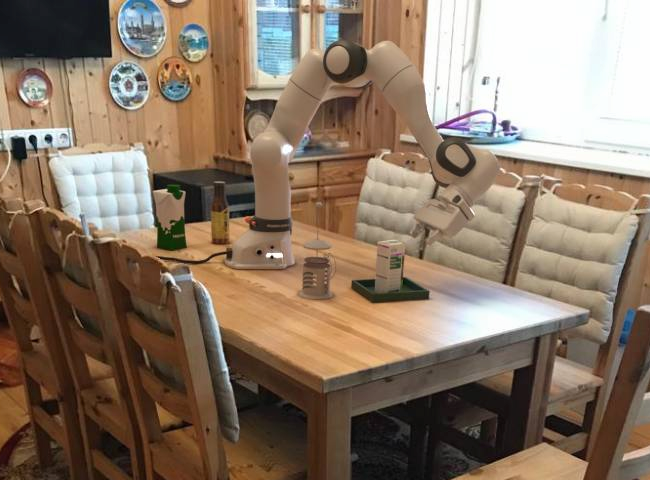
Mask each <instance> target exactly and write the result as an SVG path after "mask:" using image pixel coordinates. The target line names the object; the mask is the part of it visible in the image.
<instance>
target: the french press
mask: <svg viewBox="0 0 650 480" xmlns="http://www.w3.org/2000/svg"><path fill="white" fill-rule="evenodd" d="M314 207H316V208H317V224H319V222H320V221H319V219H320V208H322V207H323V203H322V202H320V201H317V202H316V203H315V205H314ZM316 231H317V234H316V235H317V236H316V238H312V239H308V240H307V241H305V242H304V243H302V247H303V248H305V249H307V250H312V251H313V250H314V251H316V254H318V252H319V251H326V250H330V249H331V248H332V247H333V245H332V244H331V243H330V242H329V241H326V240H324V239H322V238H319V228H317V229H316ZM326 256H327V257H326ZM330 256H331V257H332V259H333V261H334V265H335V266H334V272H333V275H332V276H331V274H332V269H333V268H332V267H333V263H332V260H331V258H330ZM303 261H304V262H305V263H303V264H302V276H301V277H302V280H301V283H302V284H301V290H300V291H299V292H298V295H299V297H302V298H305V299H308V300H309V299H310V300H325V299H330V298H332V297H333V296H334V294H333V292H331V291H330V289H331V280H332V279H333V278H334V276H335V274H336V272H337V262H336V259H335V257H334V255H333V254H332V253H331V252H328V254H327V253H324V255H323V257H321V256H307V257H305V258H304V259H303ZM325 282H326V283H325Z"/></svg>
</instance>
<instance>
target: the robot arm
mask: <svg viewBox="0 0 650 480" xmlns="http://www.w3.org/2000/svg"><path fill="white" fill-rule="evenodd" d="M372 83H374V85H375V86H376V87H377V89H378V90H379V92H380V93H381V94H382V96H383V98H384V99H385V101H387V103H388V105H390V107H391V108H392V109H393V110H394V112H395V113H396V114H397V116H398V117H399V118H400V119H401V121H402V122H403V123H404V124H405V126H406V127H407V128H408V130H409V131H410V133H411V134H412V135H413V137H414V139H415V141H416V142H417V144H418V146H419V147H420V148H421V150H422V152H423V153H424V155H425V156H426V159H427V160H428V163H429V165H430V166H429V167H430V171H431V176H432V179H433V181H434V182H435V183H436V185H438V186H440V187H441V188H444V189H443V191H442V192H441V193H440V194H439V195H438V196H437V197H436V198H431V199H429V200H427V201H426V202H425V203H424V204H423V205H421V206H420V208H418V209H417V211H415V213H414V215H413V219H414V220H415V224H414V226H413V228H412V229H411V231H409V236H410V237H411V238H413V239H417V237H418V236H419V235H420V231H421V230H423V229H424V228H426V229H428V230H431V231H432V232H434V233H433V234H431V235H430V236H429V235H428V236H427V237H426V238H425V240H424V242H425V244H426V245H427V246H428V247H429V246H430V247H431V246H432V245H433V244H434V243H435V242H437V241H439V240H440V239H442V238H443V237H446V238H448V239H452V238H454V237H456V236H457V235H458V234H459V233H460V232H461V231H462V230H463V229H464V228H465V227H466V226H467V224H468V222H471V221H472V220H473V219H474V218H475V217H476V215H475V213H474V211H473V210H472V208H473V207H474V206H475V203H476V202H477V200H478V199H479V198H481V197H482V196H484V195H485V194H486V193H487V192H488V191H489V189H490V188H491V187H492V186H493V185H494V183H495V182H496V181H497V179H498V178H499V176H500V173H501V165H500V162H499V160H498V158H497V156H496V154H494V153H493V152H492V151H491V150H489V149H484V148H483V149H482V148H477V147H474V146H472V145H470V144H469V143H466V142H465V141H464V140H462V139H461V138H457V137H448V138H445V139H443V137H442V135H441V134H440V132H439V131H438V129H437V127H436V126H435V125H434V122H433V120H432V118H431V115H430V111H429V104H428V103H429V102H428V92H427V91H428V90H427V87H426V85H425V83H424V80H423V79H422V76H421V74H420V73H419V71H418V70H417V68H416V66H415V65H414V64H413V63H412V61H411V59H409V57H408V56H407V54H406V53H405V52H404V51H403V49H401V48H400V47H399V46H398V45H396V43H395V42H393V41H391V40H383V41H380V42H378V43H376V44H375V45H373V47H371V48H370V49H368V48H366V47H364V46H363V45H361V44H360V43H358V42H353V41H350V40H347V39H341V40H335V41H333V42H332V43H331V44H329V45H328V47H327V48H326V49H325V50H324V49H321V48H311V49H309V50H308V51H307V52H306V53H305V54H304V55H303V56H302V58H301V60H300V61H299V62H298V64H297V65H296V67H295V68H294V70H293V72H292V73H291V75H290V76H289V79H288V80H287V83H286V85H285V87H284V89H283V90H282V92H281V93H280V96H279V98H278V100H277V102H276V104H275V108H274V110H273V113H272V115H271V118H270V120H269V122H268V125H267V127H266V129H265V130H264V131H263V132H262V133H259V134H258V135H256V137H255V138H254V139H253V140H252V143H251V145H250V148H249V149H250V150H249V157H250V160H251V168H252V177H253V183H254V184H253V185H254V212H255V213H254V216H251V217H250V216H249V215H246V216H245V217H244V221H245V223H246V224H247V225H248V227H249V228H248V229H247V230H246V231H245V232H243V233H242V234H241V235H240V236H238V237H237V238H236V239H234V240H233V242H232V245H231V247H225V249H226V250H225V251H219V252H215V253H212V254H211V255H209V256H207V258H205V259H200V260H192V259H181V258H178V257H171V256H160V255H155V256H156V257H158V258H160V259H159V260H160V261H161V260H162V261H173V262H177V263H182V264H190V265H191V264H192V265H193V264H195V265H199V264H200V265H201V264H205V263H207V262H209V261H210V260H212V259H213V258H216V257H218V256H224V255H226V256H225V257H224V258H223V263H224V264H225V265H226V266H228V267H229V268H232V269H234V270H235V269H236V270H284V269H286V268H288V267H291V266H293V265H294V264H296V262H295V257H294V253H293V246H292V232H293V217H292V216H291V212H292V211H291V209H292V206H291V205H292V189H291V185H290V176H289V164H290V163H291V161H293V159H294V156H295V155H296V153H297V151H298V149H299V147H300V145H301V143H302V141H303V139H304V136H305V134H306V132H307V130H308V127H309V126H310V124H311V122H312V120H313V118H314V116H315V115H316V113H317V111H318V109H319V108H320V106H321V104H322V102H323V100H324V99H325V97H326V94H327V93H328V92H329V90H330V88H331V87H332V86H333V85H335V84H338V85H341V86H343V87H346V88H351V89H359V90H360V89H363V88H367V87H369V85H371V84H372Z"/></svg>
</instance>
